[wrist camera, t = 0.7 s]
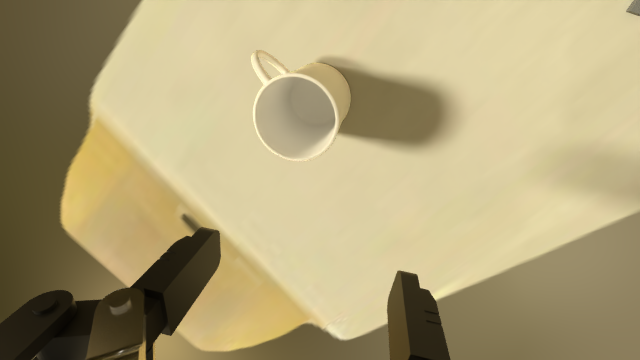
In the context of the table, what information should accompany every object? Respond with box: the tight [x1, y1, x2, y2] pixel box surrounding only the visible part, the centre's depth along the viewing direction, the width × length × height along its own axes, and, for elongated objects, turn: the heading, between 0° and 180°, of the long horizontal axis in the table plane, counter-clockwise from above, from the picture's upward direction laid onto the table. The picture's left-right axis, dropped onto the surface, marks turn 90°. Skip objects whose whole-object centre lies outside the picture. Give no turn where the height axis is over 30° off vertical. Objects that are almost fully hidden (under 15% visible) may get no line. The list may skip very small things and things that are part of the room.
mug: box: [251, 50, 351, 161], centre depth 30 cm, size 12×8×12 cm
